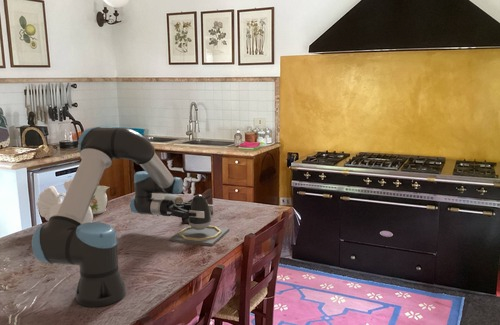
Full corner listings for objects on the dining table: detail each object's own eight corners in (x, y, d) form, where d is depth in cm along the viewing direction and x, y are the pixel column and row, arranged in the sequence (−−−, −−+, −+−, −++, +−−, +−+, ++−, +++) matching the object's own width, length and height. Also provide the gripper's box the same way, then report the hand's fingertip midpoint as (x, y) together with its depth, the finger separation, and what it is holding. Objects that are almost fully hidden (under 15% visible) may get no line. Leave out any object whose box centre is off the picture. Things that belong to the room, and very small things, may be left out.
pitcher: (85, 208, 244) (82, 183, 241) (116, 209, 240) (114, 184, 238) (73, 214, 233) (71, 188, 230) (106, 216, 230) (104, 189, 227)
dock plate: (212, 245, 187) (212, 241, 187) (169, 240, 194) (169, 236, 193) (229, 230, 206) (229, 226, 206) (189, 226, 212) (189, 222, 212)
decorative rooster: (101, 227, 212) (97, 176, 207) (78, 238, 197) (73, 183, 193) (58, 222, 220) (53, 172, 215) (33, 233, 205) (27, 179, 201)
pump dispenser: (214, 229, 196) (213, 196, 194) (191, 233, 193) (190, 198, 190) (208, 223, 206) (207, 190, 203) (185, 226, 202) (184, 193, 199)
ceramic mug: (175, 211, 237) (175, 196, 236) (163, 208, 241) (163, 194, 240) (188, 206, 246) (187, 192, 245) (176, 204, 250) (175, 190, 249)
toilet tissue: (169, 199, 259) (168, 182, 258) (149, 202, 253) (148, 185, 252) (163, 195, 268) (162, 179, 267) (143, 198, 263) (142, 181, 261)
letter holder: (213, 213, 233) (212, 186, 231) (201, 225, 214) (200, 196, 212) (195, 212, 235) (194, 185, 233) (181, 224, 216) (180, 195, 214)
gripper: (174, 208, 214) (218, 212, 207) (150, 222, 194) (198, 227, 187) (174, 193, 213) (218, 196, 206) (149, 206, 192) (197, 210, 185)
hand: (208, 211), depth 196 cm, fingers closed on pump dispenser, 9 cm apart
